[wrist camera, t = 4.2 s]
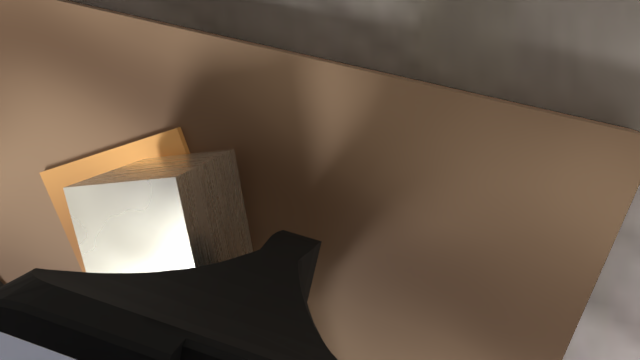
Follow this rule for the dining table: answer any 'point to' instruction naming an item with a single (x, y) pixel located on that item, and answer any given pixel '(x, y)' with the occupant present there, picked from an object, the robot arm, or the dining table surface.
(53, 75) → the board
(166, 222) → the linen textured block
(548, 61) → the dining table surface
